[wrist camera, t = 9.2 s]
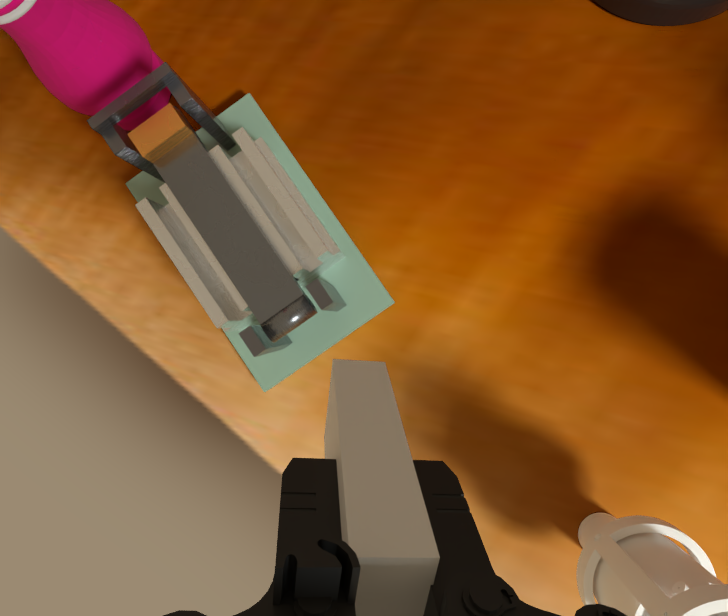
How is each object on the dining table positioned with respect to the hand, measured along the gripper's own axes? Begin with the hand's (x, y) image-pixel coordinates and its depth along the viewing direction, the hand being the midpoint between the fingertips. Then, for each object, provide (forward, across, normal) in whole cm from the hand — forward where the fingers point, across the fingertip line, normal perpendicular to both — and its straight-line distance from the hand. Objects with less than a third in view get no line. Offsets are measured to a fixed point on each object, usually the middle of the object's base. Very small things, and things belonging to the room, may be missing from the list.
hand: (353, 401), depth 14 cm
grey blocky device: (+22, -5, -1) cm, 23 cm away
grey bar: (+17, -6, 0) cm, 18 cm away
